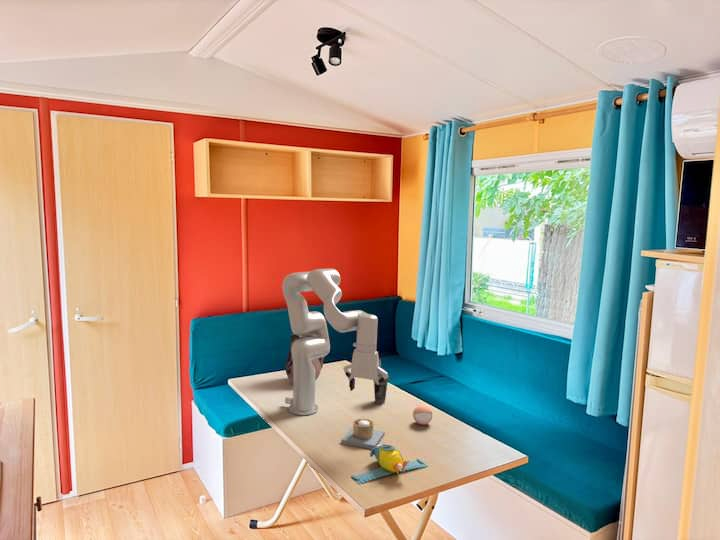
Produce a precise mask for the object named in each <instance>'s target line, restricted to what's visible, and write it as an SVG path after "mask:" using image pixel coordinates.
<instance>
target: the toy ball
mask: <svg viewBox="0 0 720 540" xmlns="http://www.w3.org/2000/svg"><path fill="white" fill-rule="evenodd" d="M412 417H413V420H414V421H415V422H416V423H417V424H418V425H422V426H423V425H424V426H425V425H427V424H429V423H430V422H431V421H432V419H433V412H432V409H431V408H430V407H429V406H427V404H426V405H425V404H420V405H417V406H416V407H415V408H414V409H413V412H412Z"/></svg>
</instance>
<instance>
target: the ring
mask: <svg viewBox="0 0 720 540" xmlns="http://www.w3.org/2000/svg"><path fill="white" fill-rule="evenodd" d="M362 420H365V421H368V422H370V425H368V426H359V425H358V422H359V421H362ZM352 423H353V424H352V427H353V436H354V437H355V438H357V439H361V440H367V439H370V438H372V437H373V430H374V422H373V420H371V419H369V418H368V419H367V418H358V419H355V420H354V421H353V422H352Z"/></svg>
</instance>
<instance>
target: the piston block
mask: <svg viewBox="0 0 720 540" xmlns="http://www.w3.org/2000/svg"><path fill="white" fill-rule="evenodd" d="M358 425H359V426H368V425H370V422H368V421H365V420H362V421H359V422H358ZM383 436H385V431H384V430H379V429H373V437H372V438H370V439H367V440H361V439H357V438H355V437H354V436H353V426H352V427H350V429H349V430H348V431H347V433H345V435H344V436H343V437H342V438H341V444H343V445H347V446H348V445H349V446H353V447H358V446H359V448H365V449H370V450H372V449H373V448H374V447H375V446H376V445H377V444H378V443H379V444H380V442H381V441H382V440H381V439H383V438H384V437H383Z"/></svg>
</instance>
